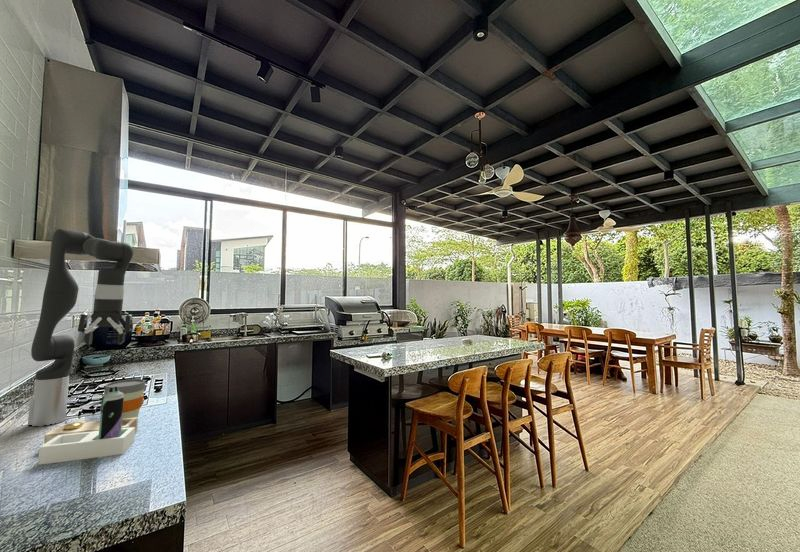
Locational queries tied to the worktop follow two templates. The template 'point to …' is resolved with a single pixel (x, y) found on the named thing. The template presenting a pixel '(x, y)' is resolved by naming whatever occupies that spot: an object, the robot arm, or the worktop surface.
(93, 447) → the frame
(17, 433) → the worktop surface
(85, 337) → the robot arm
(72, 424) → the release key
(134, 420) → the socket block
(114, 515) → the worktop surface
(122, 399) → the spray can
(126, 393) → the reusable coffee cup
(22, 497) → the worktop surface
